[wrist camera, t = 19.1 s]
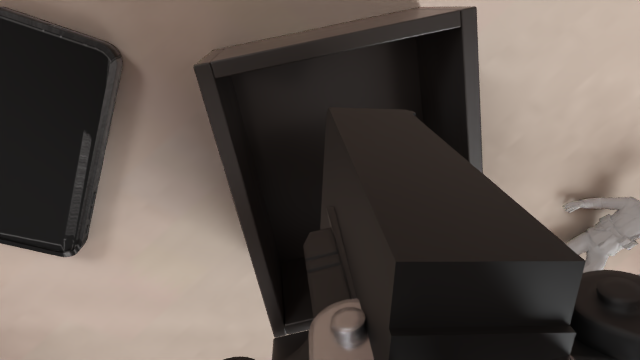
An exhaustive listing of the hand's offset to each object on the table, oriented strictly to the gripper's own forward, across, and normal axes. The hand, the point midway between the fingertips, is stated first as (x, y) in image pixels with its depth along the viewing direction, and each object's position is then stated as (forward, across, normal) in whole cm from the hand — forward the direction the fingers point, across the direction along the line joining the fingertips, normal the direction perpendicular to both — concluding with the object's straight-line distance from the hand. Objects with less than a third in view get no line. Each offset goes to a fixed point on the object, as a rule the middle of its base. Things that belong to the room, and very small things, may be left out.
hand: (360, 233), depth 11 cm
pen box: (+19, -2, +5) cm, 20 cm away
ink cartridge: (+2, 0, 0) cm, 3 cm away
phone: (+19, +17, -1) cm, 26 cm away
